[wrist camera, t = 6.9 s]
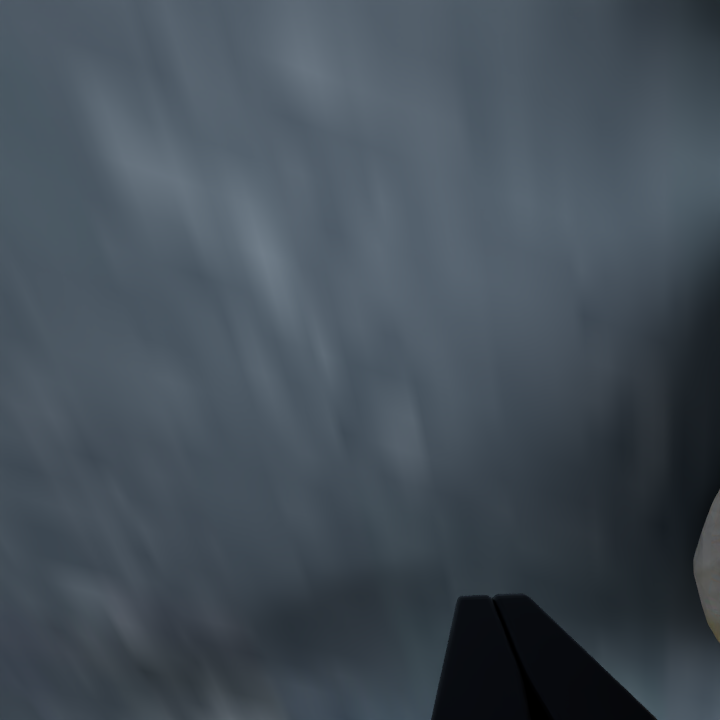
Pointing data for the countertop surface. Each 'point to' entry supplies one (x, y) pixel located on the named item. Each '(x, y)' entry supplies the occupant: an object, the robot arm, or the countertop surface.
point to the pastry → (709, 567)
